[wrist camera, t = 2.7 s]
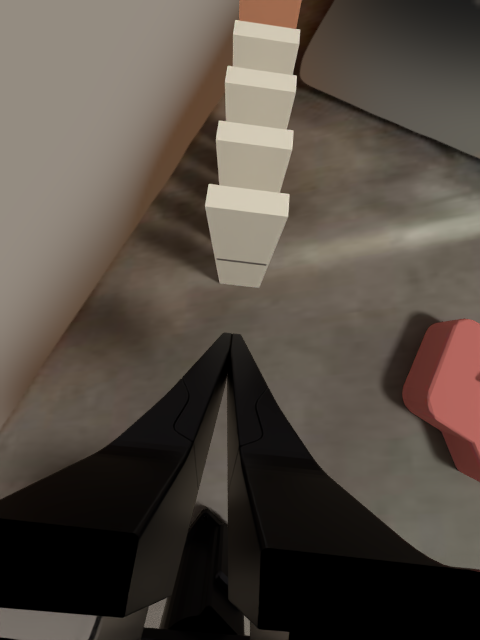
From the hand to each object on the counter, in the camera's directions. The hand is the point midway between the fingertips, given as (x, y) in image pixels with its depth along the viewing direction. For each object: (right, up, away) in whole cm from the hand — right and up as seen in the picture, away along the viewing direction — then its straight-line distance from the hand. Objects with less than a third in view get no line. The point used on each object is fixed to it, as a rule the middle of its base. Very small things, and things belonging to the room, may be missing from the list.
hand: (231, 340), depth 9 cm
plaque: (+29, -10, +13) cm, 33 cm away
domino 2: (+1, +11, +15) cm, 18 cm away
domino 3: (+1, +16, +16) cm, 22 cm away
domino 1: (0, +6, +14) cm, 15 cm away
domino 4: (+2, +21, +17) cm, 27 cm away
